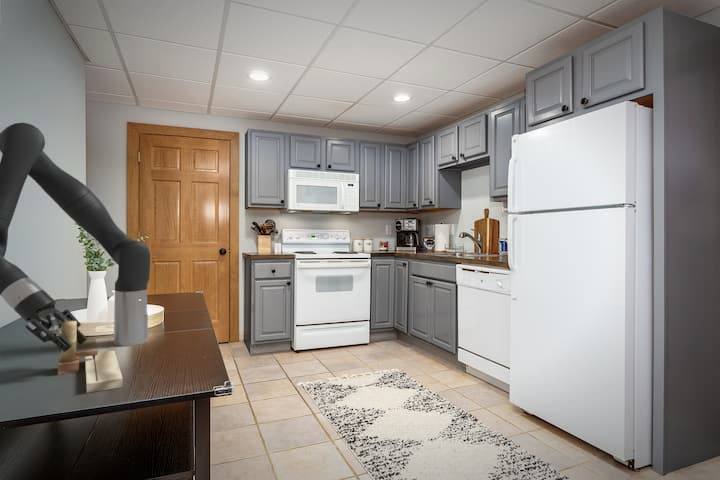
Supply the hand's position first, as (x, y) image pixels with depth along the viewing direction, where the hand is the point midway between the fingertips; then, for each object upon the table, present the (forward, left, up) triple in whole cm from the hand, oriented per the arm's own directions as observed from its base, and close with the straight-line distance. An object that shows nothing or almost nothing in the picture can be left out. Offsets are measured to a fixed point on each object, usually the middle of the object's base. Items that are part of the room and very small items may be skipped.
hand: (76, 345), depth 108 cm
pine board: (-6, +6, -6) cm, 10 cm away
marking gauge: (0, -1, -6) cm, 6 cm away
